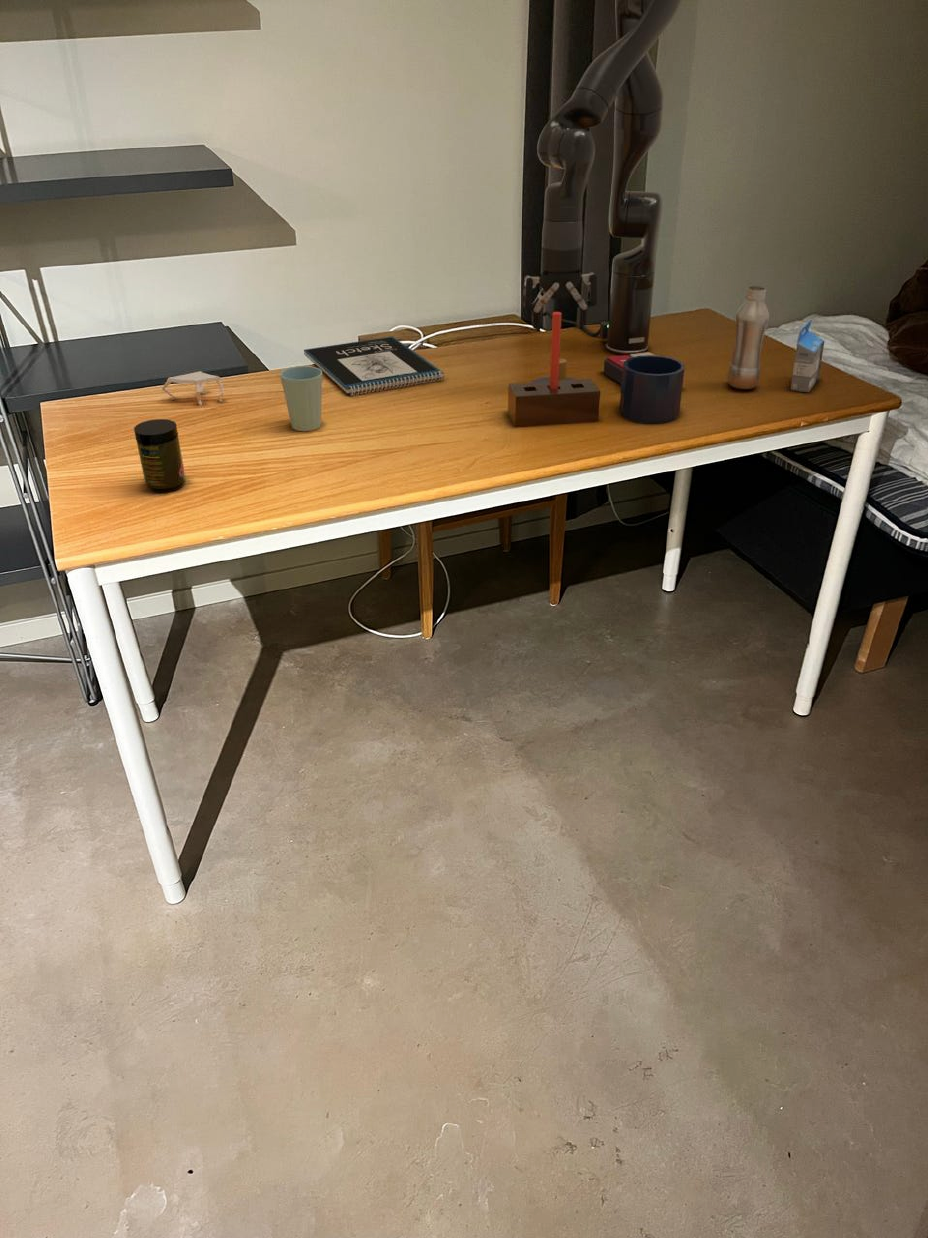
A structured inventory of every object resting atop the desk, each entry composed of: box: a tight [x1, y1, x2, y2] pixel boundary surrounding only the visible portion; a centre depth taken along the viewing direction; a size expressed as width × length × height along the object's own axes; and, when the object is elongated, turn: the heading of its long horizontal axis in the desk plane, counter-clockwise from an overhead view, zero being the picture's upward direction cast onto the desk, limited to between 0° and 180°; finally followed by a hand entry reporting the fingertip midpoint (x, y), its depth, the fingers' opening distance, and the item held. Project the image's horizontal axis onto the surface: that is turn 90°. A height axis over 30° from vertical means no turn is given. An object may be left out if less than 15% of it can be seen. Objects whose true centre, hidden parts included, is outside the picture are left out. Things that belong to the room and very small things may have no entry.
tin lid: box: [530, 357, 576, 382], centre depth 200 cm, size 13×13×7 cm
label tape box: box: [790, 318, 825, 393], centre depth 201 cm, size 9×4×12 cm, turn 150°
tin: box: [618, 354, 686, 425], centre depth 190 cm, size 11×11×10 cm
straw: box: [549, 311, 562, 390], centre depth 185 cm, size 2×2×20 cm
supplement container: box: [133, 418, 187, 493], centre depth 164 cm, size 7×7×10 cm
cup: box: [279, 365, 323, 432], centre depth 185 cm, size 8×8×10 cm
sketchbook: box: [303, 336, 445, 396], centre depth 215 cm, size 22×30×2 cm
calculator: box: [603, 351, 655, 385], centre depth 206 cm, size 11×4×15 cm
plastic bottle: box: [727, 285, 770, 390], centre depth 198 cm, size 6×7×20 cm
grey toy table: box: [161, 370, 226, 406], centre depth 199 cm, size 12×8×5 cm
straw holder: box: [507, 378, 601, 428], centre depth 189 cm, size 7×16×6 cm, turn 99°
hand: (558, 328), depth 195 cm, fingers open, 8 cm apart
